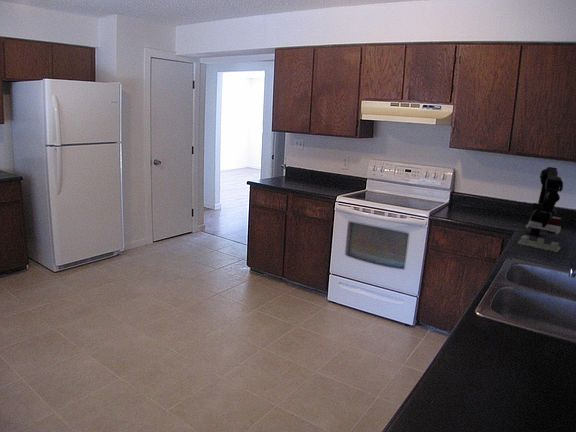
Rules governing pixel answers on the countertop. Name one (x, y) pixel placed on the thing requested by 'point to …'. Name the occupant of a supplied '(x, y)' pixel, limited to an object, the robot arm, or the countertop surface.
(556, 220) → the mug
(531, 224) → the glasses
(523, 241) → the stand
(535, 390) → the countertop surface
